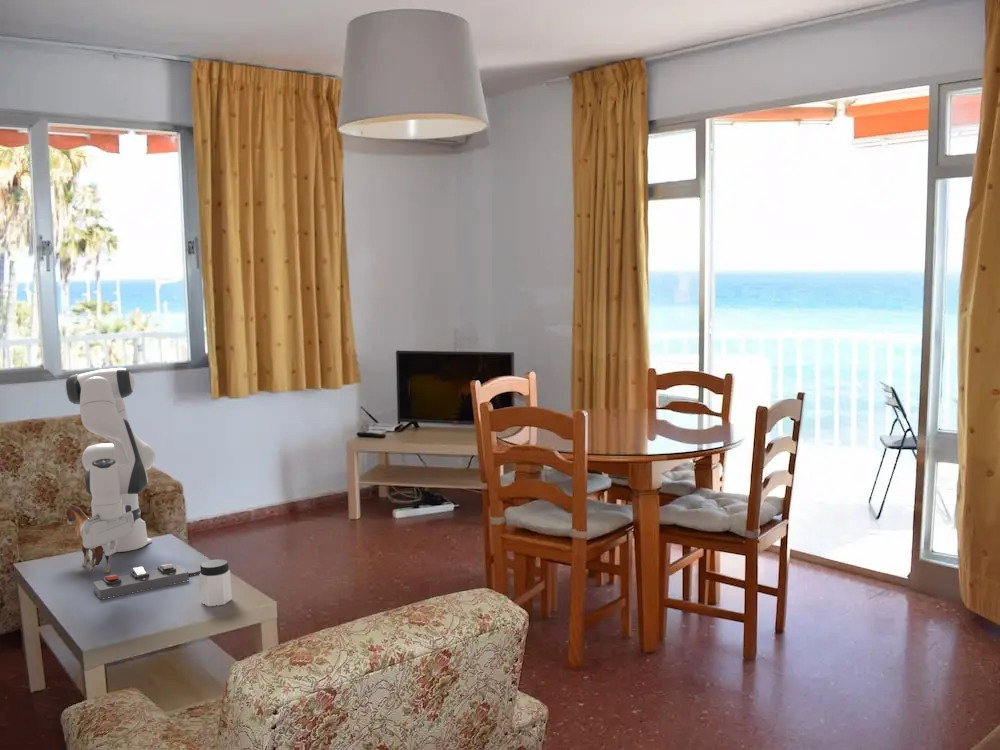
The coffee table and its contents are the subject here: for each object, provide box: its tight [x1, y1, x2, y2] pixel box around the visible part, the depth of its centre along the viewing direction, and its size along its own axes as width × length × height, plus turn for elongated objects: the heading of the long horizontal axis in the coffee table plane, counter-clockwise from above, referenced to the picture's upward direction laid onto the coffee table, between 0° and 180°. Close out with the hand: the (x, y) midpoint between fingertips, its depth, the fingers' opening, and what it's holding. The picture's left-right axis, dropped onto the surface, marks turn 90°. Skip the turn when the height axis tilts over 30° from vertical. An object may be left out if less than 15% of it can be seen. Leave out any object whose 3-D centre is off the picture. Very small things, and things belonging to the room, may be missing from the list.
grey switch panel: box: [92, 564, 201, 600], centre depth 299 cm, size 10×34×4 cm, turn 125°
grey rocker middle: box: [132, 566, 146, 576], centre depth 298 cm, size 5×3×2 cm, turn 35°
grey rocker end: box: [159, 563, 174, 570], centre depth 303 cm, size 5×3×2 cm, turn 35°
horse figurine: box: [63, 504, 111, 574], centre depth 316 cm, size 31×8×21 cm, turn 39°
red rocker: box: [104, 574, 119, 581], centre depth 293 cm, size 5×3×2 cm, turn 35°
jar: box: [198, 558, 233, 607], centre depth 281 cm, size 9×8×12 cm
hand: (110, 554), depth 291 cm, fingers closed
